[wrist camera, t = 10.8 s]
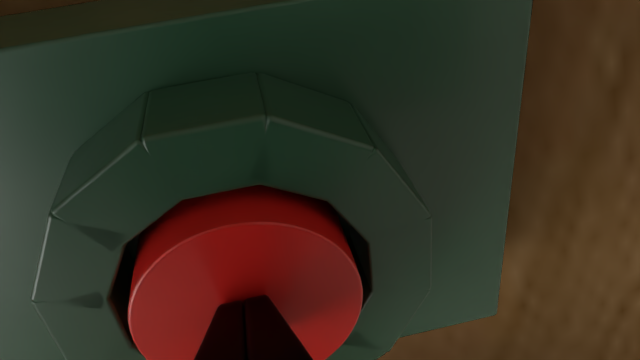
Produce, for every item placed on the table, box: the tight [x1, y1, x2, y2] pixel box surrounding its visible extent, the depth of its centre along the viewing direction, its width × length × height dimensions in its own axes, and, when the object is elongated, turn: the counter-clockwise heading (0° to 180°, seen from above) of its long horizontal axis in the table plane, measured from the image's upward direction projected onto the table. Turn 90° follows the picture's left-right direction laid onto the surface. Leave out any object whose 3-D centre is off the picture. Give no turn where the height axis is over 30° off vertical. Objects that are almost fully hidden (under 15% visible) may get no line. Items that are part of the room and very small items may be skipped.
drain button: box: [128, 185, 363, 360], centre depth 10 cm, size 4×4×2 cm
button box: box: [0, 0, 533, 360], centre depth 11 cm, size 12×9×4 cm
